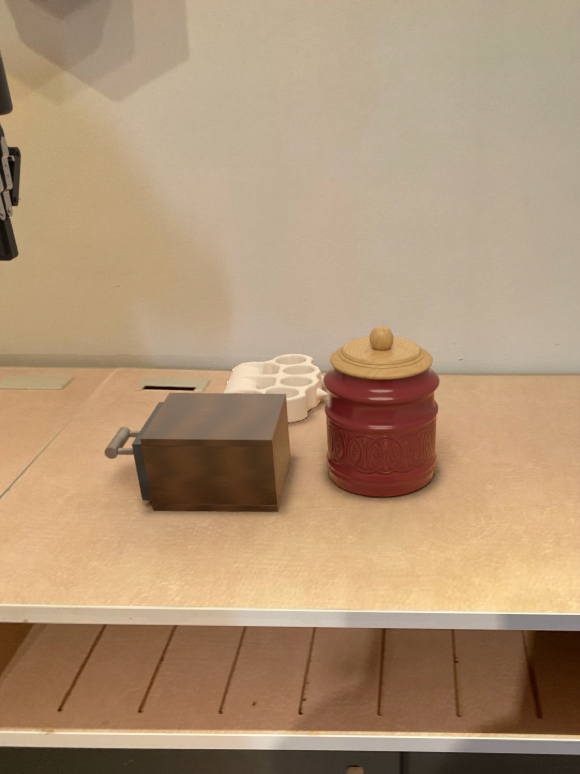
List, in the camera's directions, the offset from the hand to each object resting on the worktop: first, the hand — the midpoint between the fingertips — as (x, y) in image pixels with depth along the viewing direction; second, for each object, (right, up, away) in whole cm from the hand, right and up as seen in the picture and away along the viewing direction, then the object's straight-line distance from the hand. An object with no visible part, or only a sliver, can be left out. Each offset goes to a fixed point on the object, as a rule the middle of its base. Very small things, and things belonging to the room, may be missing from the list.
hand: (5, 258), depth 78 cm
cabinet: (+19, -21, +14) cm, 31 cm away
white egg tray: (+21, -7, +36) cm, 42 cm away
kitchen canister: (+37, -20, +17) cm, 45 cm away
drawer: (+15, -20, +13) cm, 28 cm away
